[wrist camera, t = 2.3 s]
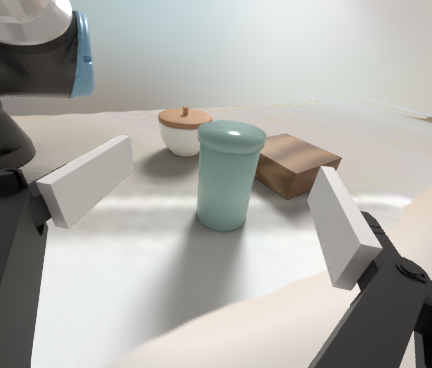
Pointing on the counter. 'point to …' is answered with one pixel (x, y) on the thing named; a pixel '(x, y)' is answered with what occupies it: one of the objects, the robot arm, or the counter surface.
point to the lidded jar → (182, 129)
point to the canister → (226, 172)
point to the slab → (291, 164)
